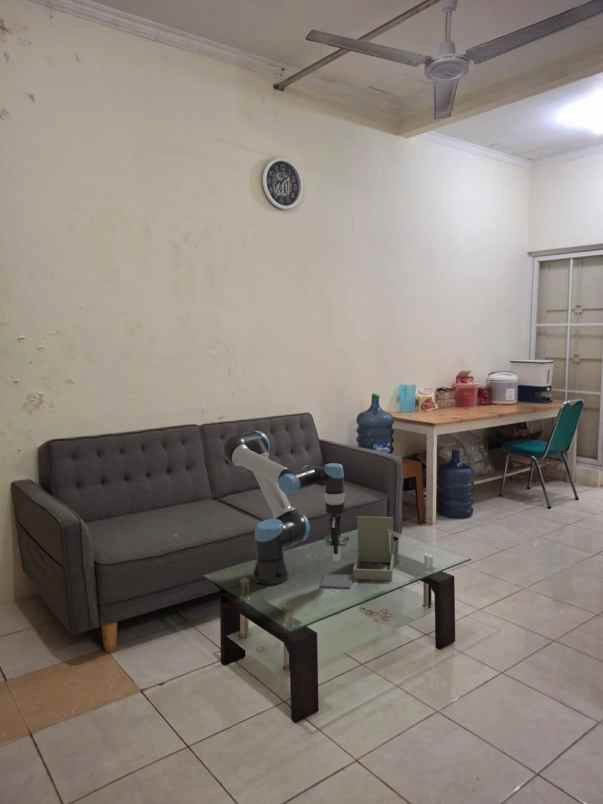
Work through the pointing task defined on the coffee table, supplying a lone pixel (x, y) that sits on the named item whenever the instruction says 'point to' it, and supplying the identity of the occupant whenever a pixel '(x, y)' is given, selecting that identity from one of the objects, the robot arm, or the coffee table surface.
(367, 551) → the case
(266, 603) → the coffee table surface
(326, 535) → the mechanical component
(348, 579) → the mat
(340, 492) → the robot arm
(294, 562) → the coffee table surface
